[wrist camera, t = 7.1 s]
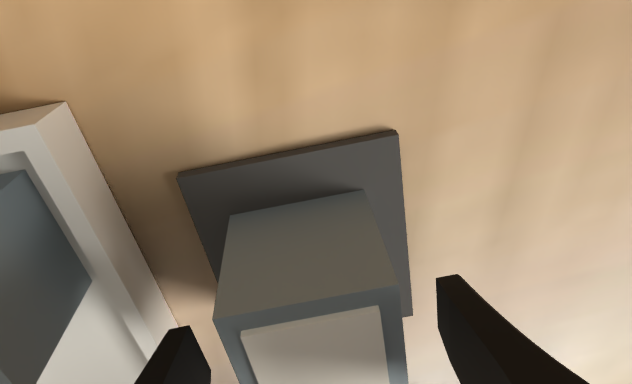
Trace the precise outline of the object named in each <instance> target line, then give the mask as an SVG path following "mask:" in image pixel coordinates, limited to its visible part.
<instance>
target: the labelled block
mask: <svg viewBox="0 0 632 384" xmlns="http://www.w3.org/2000/svg"><path fill="white" fill-rule="evenodd" d="M212 320H213V322H214V325H215V327H216V329H217V332H218V334H219V336H220V339H221V341H222V343H223V346H224V348H225V350H226V353H227V355H228V357H229V360H230V362H231V364H232V367H233V369H234V371H235V374H236V376H237V378H238V381H239V383H240V384H408V374H407V364H406V353H405V343H404V332H403V322H402V311H401V301H400V290H399V283H398V280H397V278H396V275H395V272H394V269H393V267H392V264H391V261H390V259H389V256H388V253H387V250H386V248H385V245H384V242H383V240H382V237H381V234H380V231H379V229H378V226H377V223H376V221H375V218H374V215H373V212H372V210H371V207H370V204H369V202H368V199H367V196H366V193H365V191H364V190H359V191H354V192H349V193H344V194H338V195H333V196H328V197H323V198H318V199H312V200H307V201H302V202H297V203H292V204H286V205H281V206H276V207H271V208H266V209H260V210H255V211H250V212H245V213H240V214H235V215H230V218H229V224H228V230H227V235H226V241H225V247H224V253H223V259H222V265H221V271H220V277H219V283H218V289H217V294H216V300H215V306H214V312H213V318H212Z"/></svg>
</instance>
